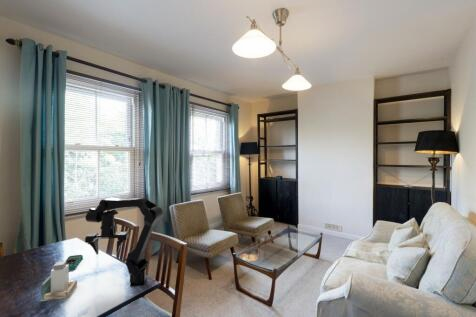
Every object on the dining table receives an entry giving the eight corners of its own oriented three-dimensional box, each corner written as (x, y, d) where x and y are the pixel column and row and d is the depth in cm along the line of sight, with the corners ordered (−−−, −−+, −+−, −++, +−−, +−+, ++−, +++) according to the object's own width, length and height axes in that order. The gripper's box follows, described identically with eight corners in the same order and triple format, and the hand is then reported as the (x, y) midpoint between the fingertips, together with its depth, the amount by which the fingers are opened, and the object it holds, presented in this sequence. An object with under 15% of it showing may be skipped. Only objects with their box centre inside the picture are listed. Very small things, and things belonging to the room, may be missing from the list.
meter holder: (76, 284, 113) (76, 270, 112) (68, 297, 103) (68, 281, 103) (52, 288, 110) (52, 273, 110) (41, 301, 100) (41, 284, 100)
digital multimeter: (58, 272, 124) (58, 267, 124) (68, 260, 138) (68, 255, 138) (74, 270, 127) (74, 265, 127) (83, 258, 141) (83, 253, 141)
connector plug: (68, 287, 110) (68, 260, 109) (64, 293, 105) (64, 265, 104) (56, 289, 108) (56, 261, 108) (51, 295, 103) (50, 266, 103)
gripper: (131, 217, 127) (131, 246, 128) (93, 219, 124) (93, 248, 124) (126, 224, 117) (125, 255, 117) (84, 225, 113) (84, 257, 113)
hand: (107, 253), depth 118 cm, fingers open, 9 cm apart
